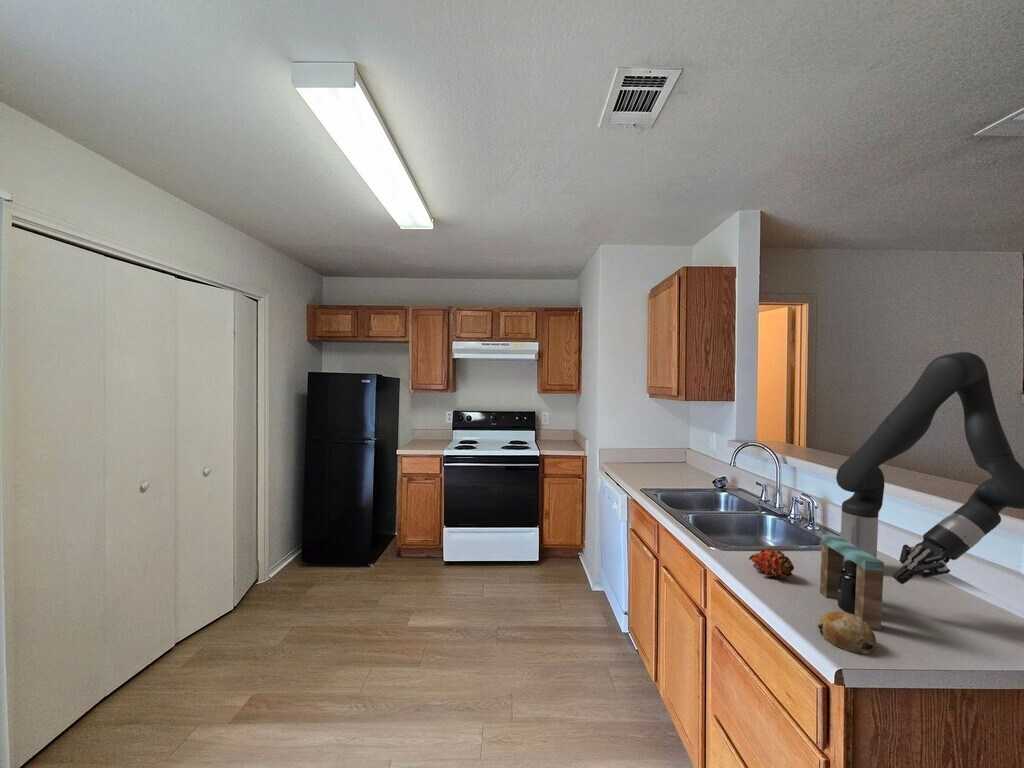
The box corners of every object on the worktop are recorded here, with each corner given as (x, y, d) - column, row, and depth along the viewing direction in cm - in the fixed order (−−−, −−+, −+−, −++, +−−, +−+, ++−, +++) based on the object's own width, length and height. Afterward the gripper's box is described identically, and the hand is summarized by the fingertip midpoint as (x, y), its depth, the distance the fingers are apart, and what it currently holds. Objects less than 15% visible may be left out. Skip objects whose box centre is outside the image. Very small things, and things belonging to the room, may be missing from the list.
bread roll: (846, 670, 96) (865, 646, 93) (803, 627, 104) (820, 603, 101) (873, 660, 100) (892, 636, 97) (830, 619, 108) (846, 596, 105)
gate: (819, 592, 124) (822, 534, 124) (835, 593, 124) (837, 535, 123) (862, 628, 106) (865, 560, 106) (880, 629, 106) (883, 562, 106)
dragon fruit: (796, 589, 129) (751, 581, 137) (800, 565, 134) (756, 558, 143) (788, 569, 126) (743, 562, 134) (792, 545, 131) (748, 540, 140)
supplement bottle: (830, 603, 118) (832, 558, 118) (854, 603, 119) (856, 558, 118) (852, 617, 111) (855, 569, 111) (877, 617, 112) (880, 569, 112)
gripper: (921, 516, 119) (868, 558, 120) (965, 533, 106) (905, 580, 107) (942, 538, 118) (889, 580, 120) (989, 558, 105) (928, 604, 107)
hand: (896, 580), depth 114 cm, fingers closed
